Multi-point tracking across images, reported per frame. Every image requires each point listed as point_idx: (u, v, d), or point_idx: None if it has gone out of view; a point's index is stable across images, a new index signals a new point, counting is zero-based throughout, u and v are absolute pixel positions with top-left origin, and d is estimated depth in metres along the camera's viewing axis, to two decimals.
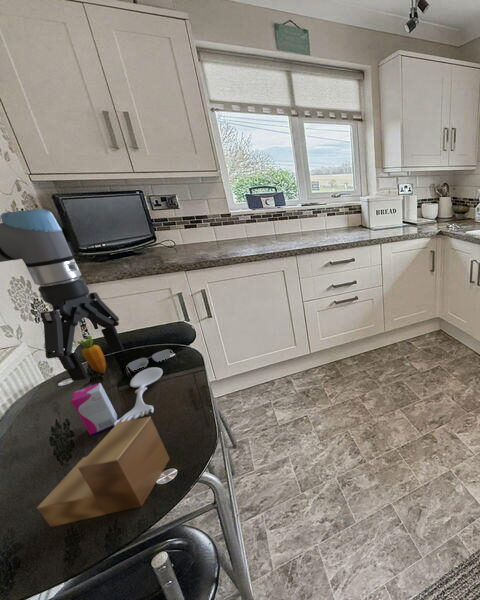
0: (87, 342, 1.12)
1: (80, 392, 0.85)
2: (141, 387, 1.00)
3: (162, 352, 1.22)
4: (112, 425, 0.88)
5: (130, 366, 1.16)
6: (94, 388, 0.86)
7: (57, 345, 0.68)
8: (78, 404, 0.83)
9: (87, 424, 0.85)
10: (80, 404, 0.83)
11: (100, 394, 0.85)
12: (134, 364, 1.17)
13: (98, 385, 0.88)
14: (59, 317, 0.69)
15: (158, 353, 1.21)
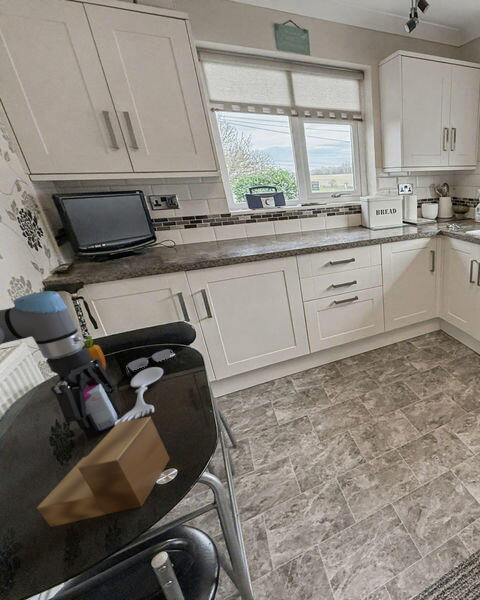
0: (87, 342, 1.12)
1: None
2: (141, 387, 1.00)
3: (162, 352, 1.22)
4: (112, 425, 0.88)
5: (130, 366, 1.16)
6: (94, 388, 0.86)
7: (73, 412, 0.80)
8: None
9: None
10: None
11: (100, 394, 0.85)
12: (134, 364, 1.17)
13: (98, 385, 0.88)
14: (68, 388, 0.79)
15: (158, 353, 1.21)
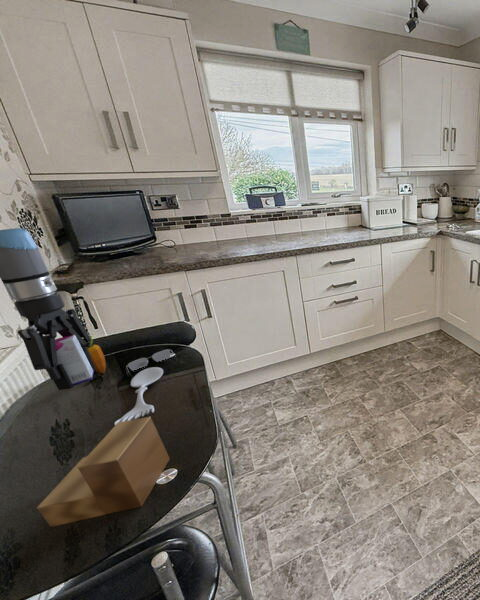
0: None
1: None
2: (141, 387, 1.00)
3: (162, 352, 1.22)
4: (86, 379, 0.83)
5: (130, 366, 1.16)
6: (68, 338, 0.81)
7: (42, 359, 0.74)
8: None
9: None
10: None
11: (73, 344, 0.80)
12: (134, 364, 1.17)
13: (72, 336, 0.82)
14: (37, 333, 0.74)
15: (158, 353, 1.21)
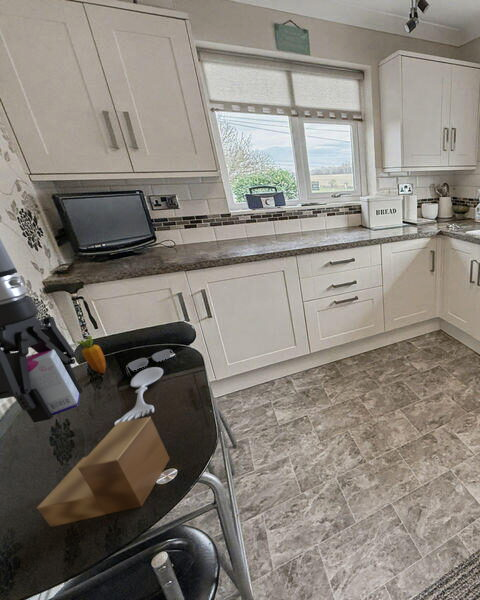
0: (87, 342, 1.12)
1: None
2: (141, 387, 1.00)
3: (162, 352, 1.22)
4: (70, 406, 0.65)
5: (130, 366, 1.16)
6: (44, 354, 0.63)
7: (9, 384, 0.56)
8: None
9: None
10: None
11: (52, 362, 0.62)
12: (134, 364, 1.17)
13: (50, 351, 0.64)
14: (0, 350, 0.56)
15: (158, 353, 1.21)
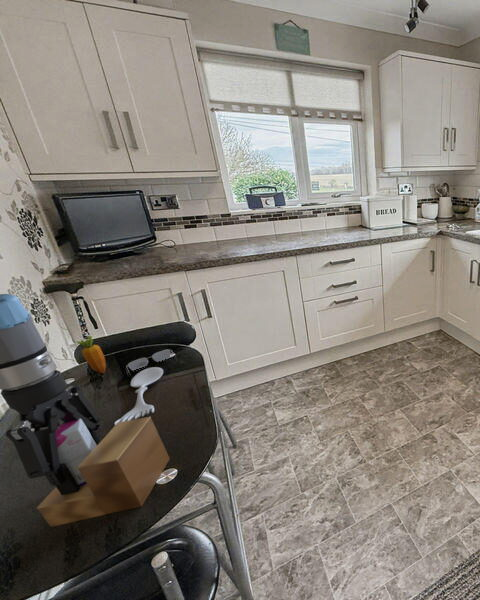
0: (87, 342, 1.12)
1: None
2: (141, 387, 1.00)
3: (162, 352, 1.22)
4: None
5: (130, 366, 1.16)
6: (72, 426, 0.63)
7: (39, 465, 0.57)
8: None
9: None
10: None
11: (79, 435, 0.62)
12: (134, 364, 1.17)
13: (77, 421, 0.65)
14: (31, 432, 0.56)
15: (158, 353, 1.21)
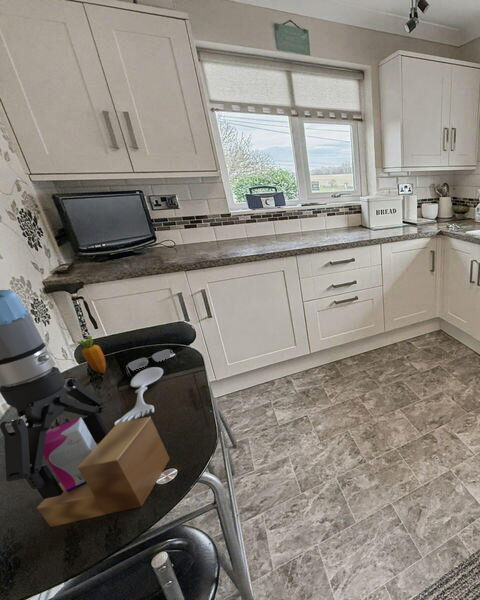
0: (87, 342, 1.12)
1: (52, 433, 0.62)
2: (141, 387, 1.00)
3: (162, 352, 1.22)
4: None
5: (130, 366, 1.16)
6: (72, 426, 0.63)
7: (21, 464, 0.54)
8: (48, 450, 0.60)
9: (62, 477, 0.62)
10: (52, 450, 0.60)
11: (80, 435, 0.62)
12: (134, 364, 1.17)
13: (78, 421, 0.65)
14: (25, 426, 0.55)
15: (158, 353, 1.21)
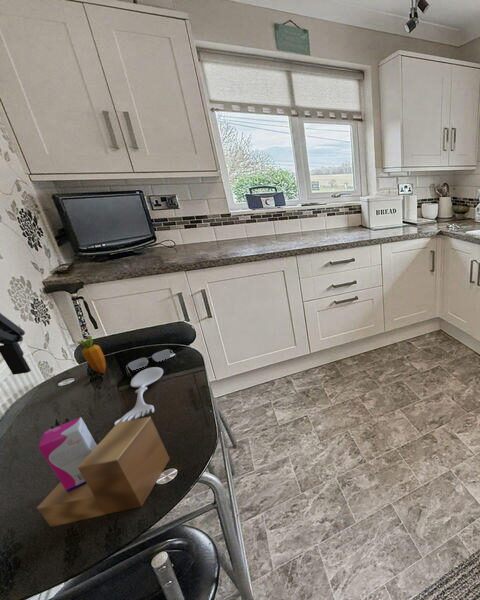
0: (87, 342, 1.12)
1: (52, 433, 0.62)
2: (141, 387, 1.00)
3: (162, 352, 1.22)
4: None
5: (130, 366, 1.16)
6: (72, 426, 0.63)
7: None
8: (48, 450, 0.60)
9: (62, 477, 0.62)
10: (52, 450, 0.60)
11: (80, 435, 0.62)
12: (134, 364, 1.17)
13: (78, 421, 0.65)
14: None
15: (158, 353, 1.21)
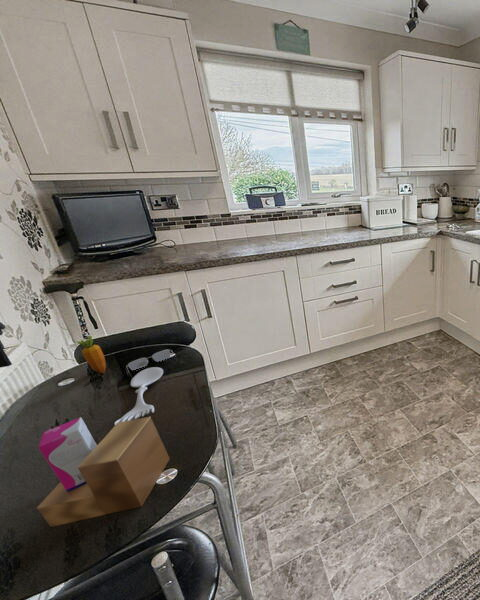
0: (87, 342, 1.12)
1: (52, 433, 0.62)
2: (141, 387, 1.00)
3: (162, 352, 1.22)
4: None
5: (130, 366, 1.16)
6: (72, 426, 0.63)
7: None
8: (48, 450, 0.60)
9: (62, 477, 0.62)
10: (51, 450, 0.60)
11: (80, 435, 0.62)
12: (134, 364, 1.17)
13: (78, 421, 0.65)
14: None
15: (158, 353, 1.21)
